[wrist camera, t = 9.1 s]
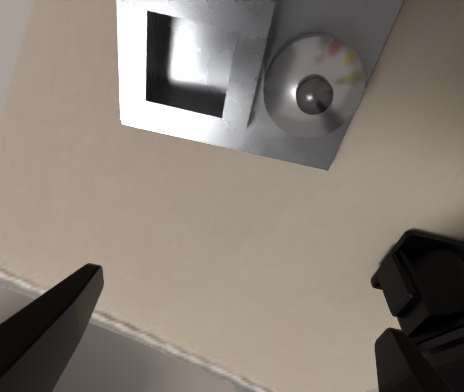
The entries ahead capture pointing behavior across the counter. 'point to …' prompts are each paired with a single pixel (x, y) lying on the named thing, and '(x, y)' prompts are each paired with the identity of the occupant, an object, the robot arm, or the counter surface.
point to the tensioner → (250, 71)
